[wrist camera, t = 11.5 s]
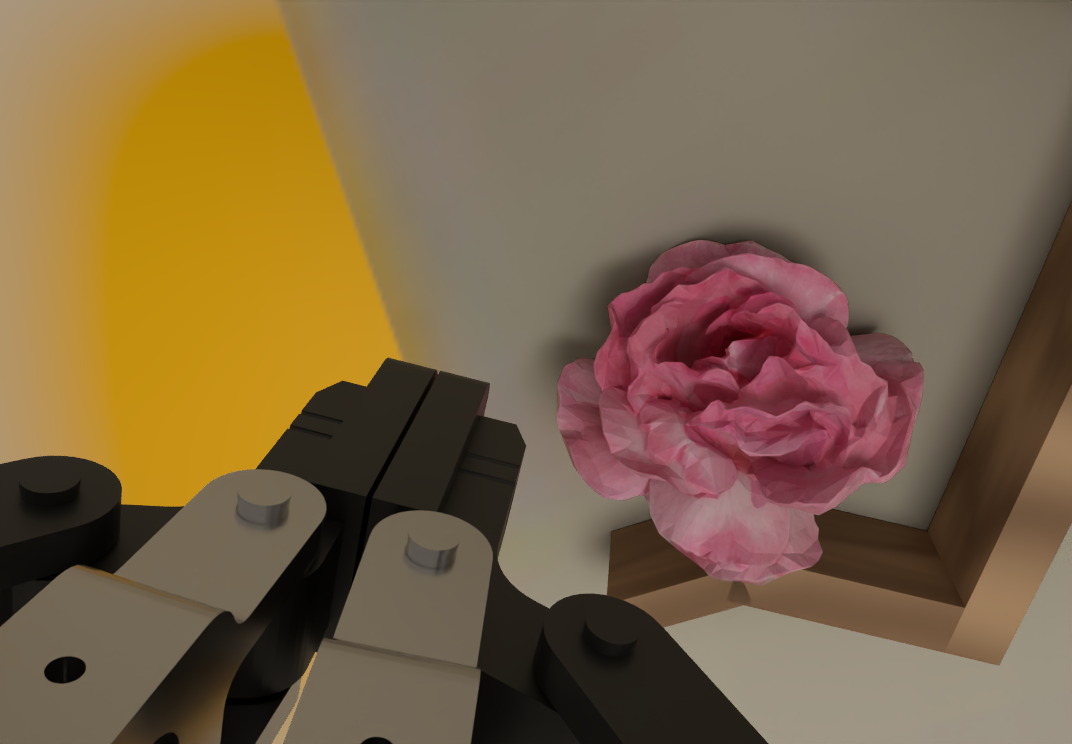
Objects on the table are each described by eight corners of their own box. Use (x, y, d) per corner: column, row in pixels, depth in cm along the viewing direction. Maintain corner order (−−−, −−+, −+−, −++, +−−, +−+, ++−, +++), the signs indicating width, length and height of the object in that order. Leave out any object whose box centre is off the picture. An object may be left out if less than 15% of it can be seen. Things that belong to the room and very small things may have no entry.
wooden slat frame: (828, -249, 28) (862, -291, 24) (1298, -148, 28) (1424, -171, 24) (604, 557, 40) (598, 632, 36) (933, 635, 40) (970, 721, 35)
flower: (620, 221, 38) (738, 140, 28) (820, 343, 40) (994, 306, 30) (490, 478, 36) (570, 483, 26) (709, 594, 38) (859, 640, 28)
